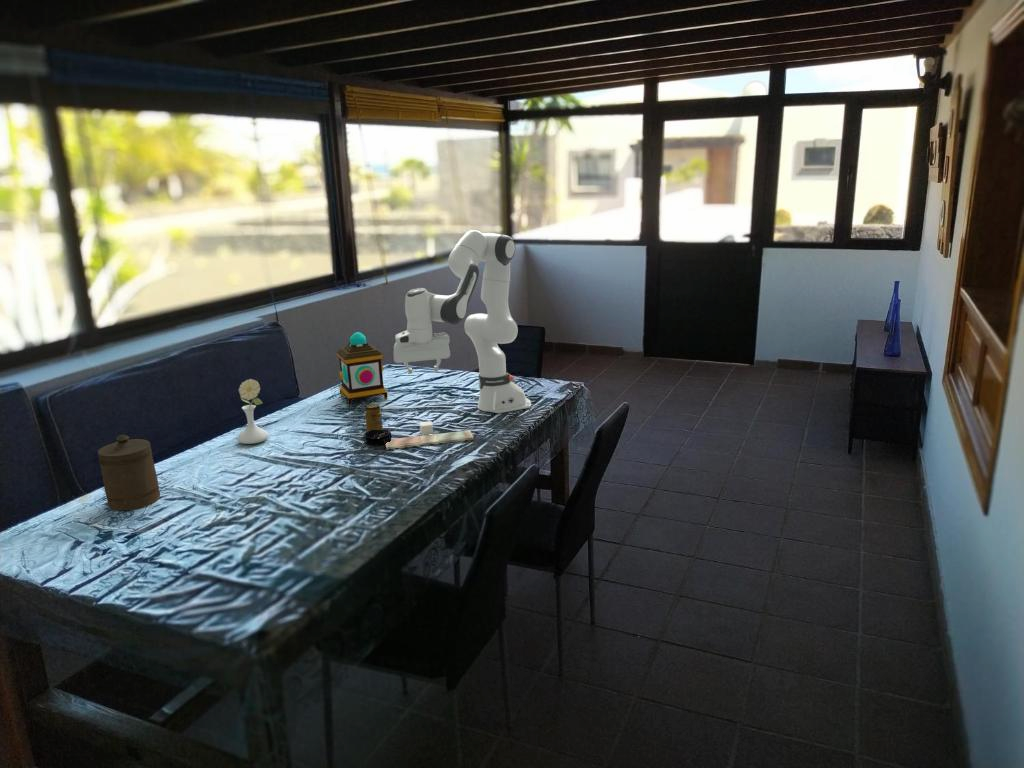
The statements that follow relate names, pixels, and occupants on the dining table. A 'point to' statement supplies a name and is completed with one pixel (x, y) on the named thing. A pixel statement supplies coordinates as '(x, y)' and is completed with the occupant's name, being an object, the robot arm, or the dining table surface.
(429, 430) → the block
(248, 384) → the flower in vase
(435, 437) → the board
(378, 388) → the decorative lantern
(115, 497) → the wooden container
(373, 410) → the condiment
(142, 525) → the dining table surface
